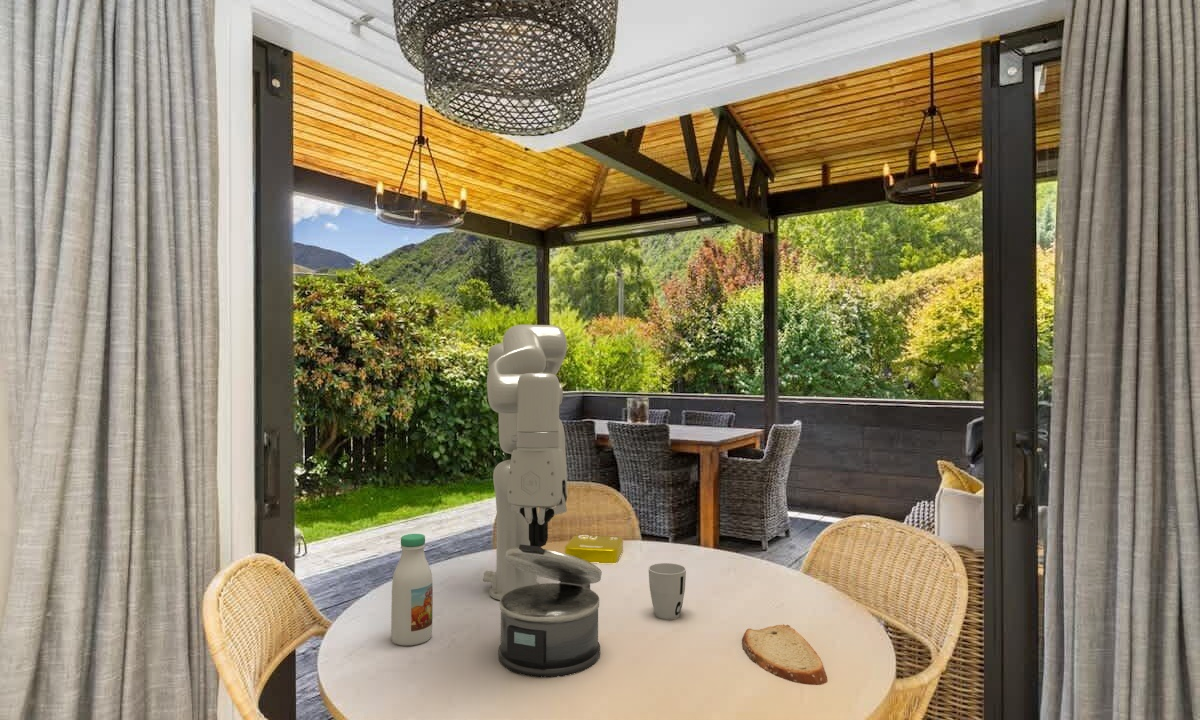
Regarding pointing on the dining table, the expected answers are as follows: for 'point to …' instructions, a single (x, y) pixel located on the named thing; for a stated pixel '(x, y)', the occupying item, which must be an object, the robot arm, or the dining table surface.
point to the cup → (667, 589)
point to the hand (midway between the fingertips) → (538, 545)
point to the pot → (549, 629)
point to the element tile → (595, 548)
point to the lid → (553, 565)
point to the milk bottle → (412, 594)
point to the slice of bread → (784, 654)
